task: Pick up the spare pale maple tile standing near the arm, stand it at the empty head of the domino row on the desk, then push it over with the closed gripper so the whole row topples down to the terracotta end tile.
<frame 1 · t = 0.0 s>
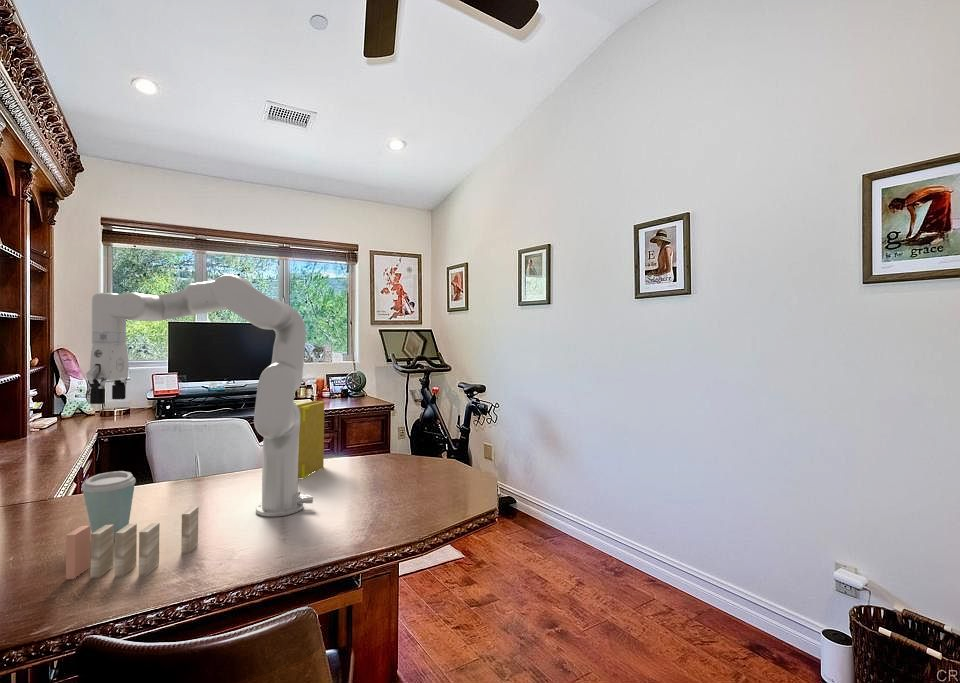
hand: (108, 401, 135), 31 cm above the table, tool pointing down, fingers open, 9 cm apart
book: (307, 472, 182), on the table
domino 2: (149, 569, 105), on the table
domino 1: (189, 548, 115), on the table
disposable coffee cup: (108, 538, 121), on the table
domino 4: (102, 572, 103), on the table
domino 5: (78, 573, 103), on the table
domino 3: (125, 570, 104), on the table
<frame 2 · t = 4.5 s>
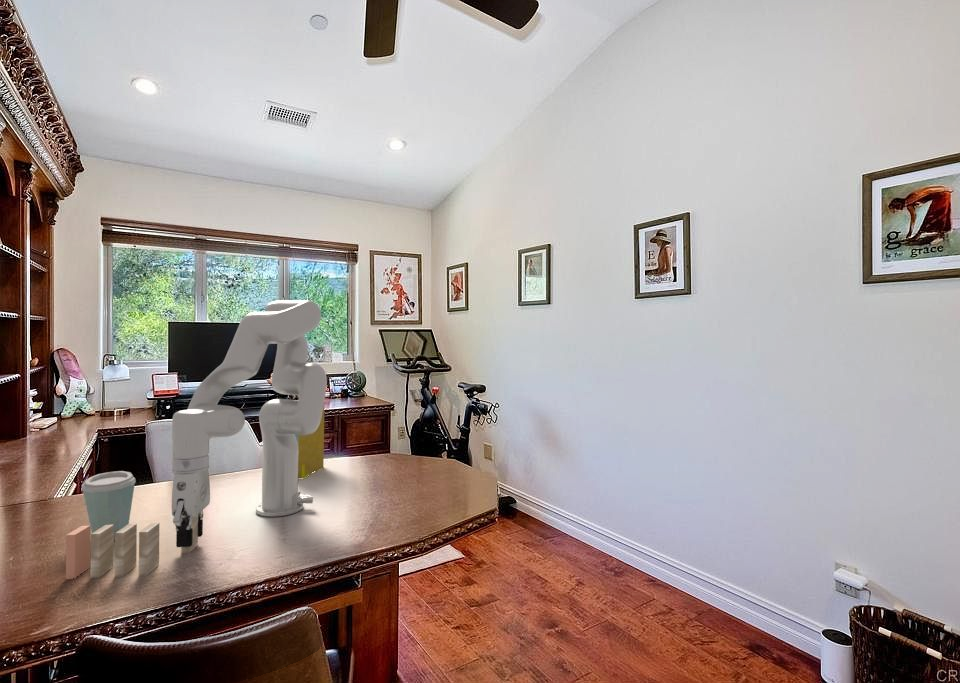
hand: (189, 540, 115), 2 cm above the table, tool pointing down, fingers closed on domino 1, 4 cm apart
domino 1: (189, 548, 115), on the table, touching gripper
everything else where it was.
when the fingers open (2 cm above the table, at t = 9.8 s): domino 1 stays where it is, on the table.
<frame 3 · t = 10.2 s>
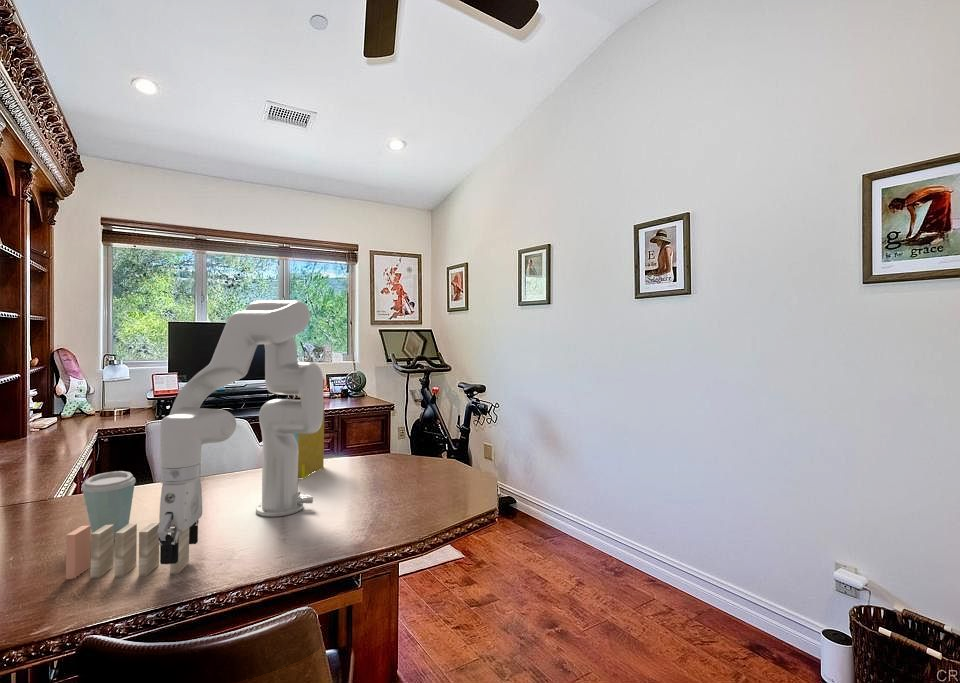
hand: (179, 553, 106), 3 cm above the table, tool pointing down, fingers open, 9 cm apart
domino 1: (179, 568, 106), on the table
everything else where it was.
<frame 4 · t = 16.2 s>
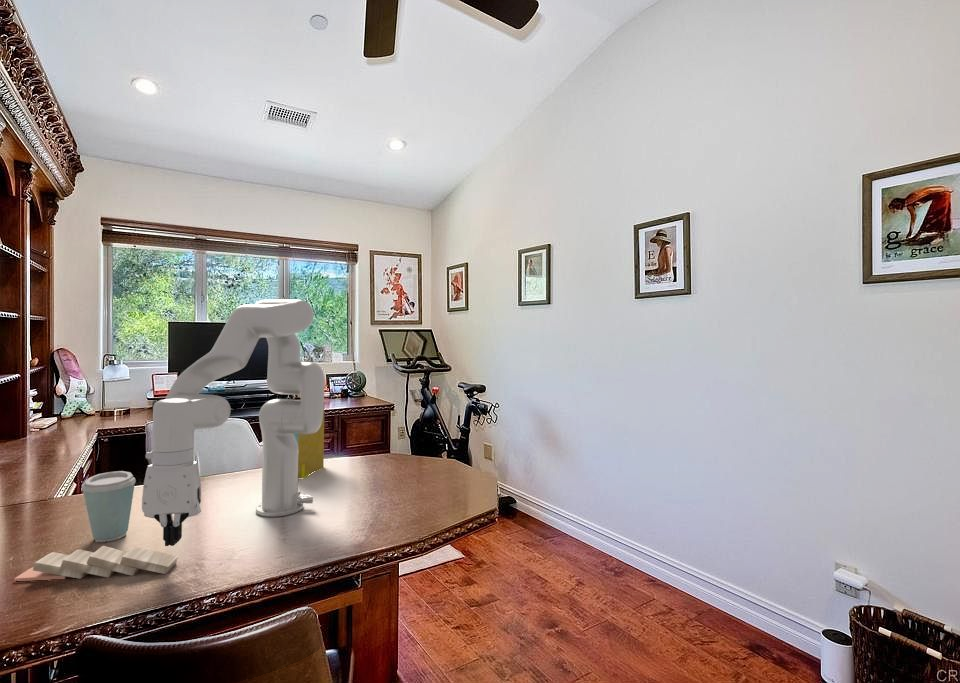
hand: (172, 543, 105), 5 cm above the table, tool pointing down, fingers closed
domino 2: (140, 566, 104), point 1 cm above the table, tilted 69°, touching domino 1, domino 3
domino 1: (172, 565, 105), point 1 cm above the table, tilted 73°, touching domino 2
domino 4: (89, 569, 103), point 1 cm above the table, tilted 76°, touching domino 3
domino 5: (72, 573, 103), on the table, tilted 90°
domino 3: (116, 568, 104), point 1 cm above the table, tilted 72°, touching domino 2, domino 4
everything else where it was.
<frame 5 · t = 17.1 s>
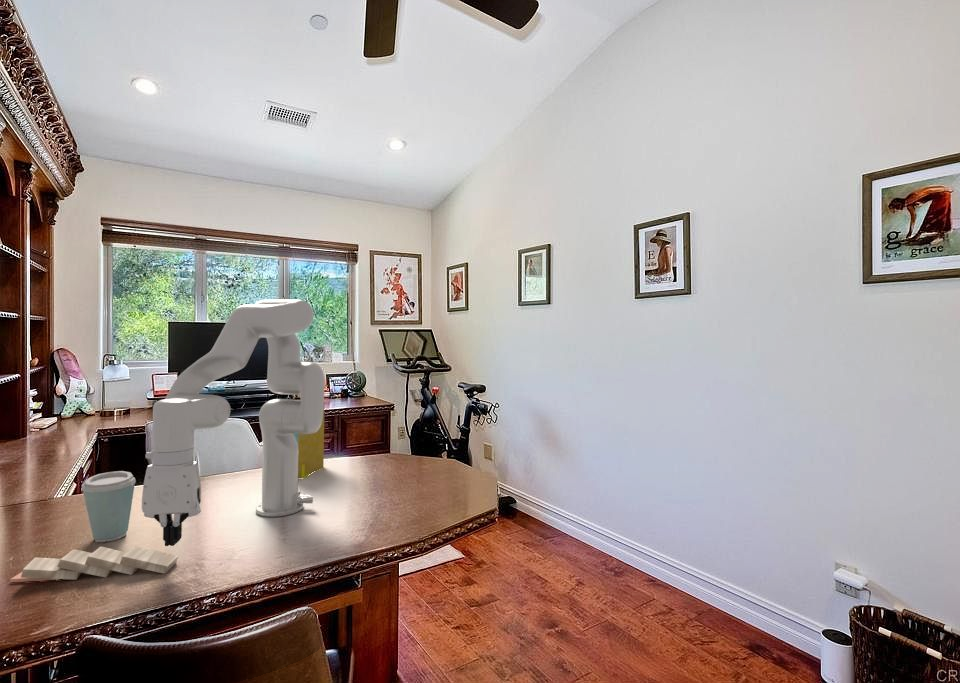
hand: (172, 543, 105), 5 cm above the table, tool pointing down, fingers closed
domino 2: (138, 565, 105), point 1 cm above the table, tilted 70°, touching domino 3
domino 1: (171, 564, 105), point 1 cm above the table, tilted 74°
domino 4: (82, 569, 102), point 1 cm above the table, tilted 78°, touching domino 3, domino 5
domino 5: (69, 573, 102), on the table, tilted 90°, touching domino 4
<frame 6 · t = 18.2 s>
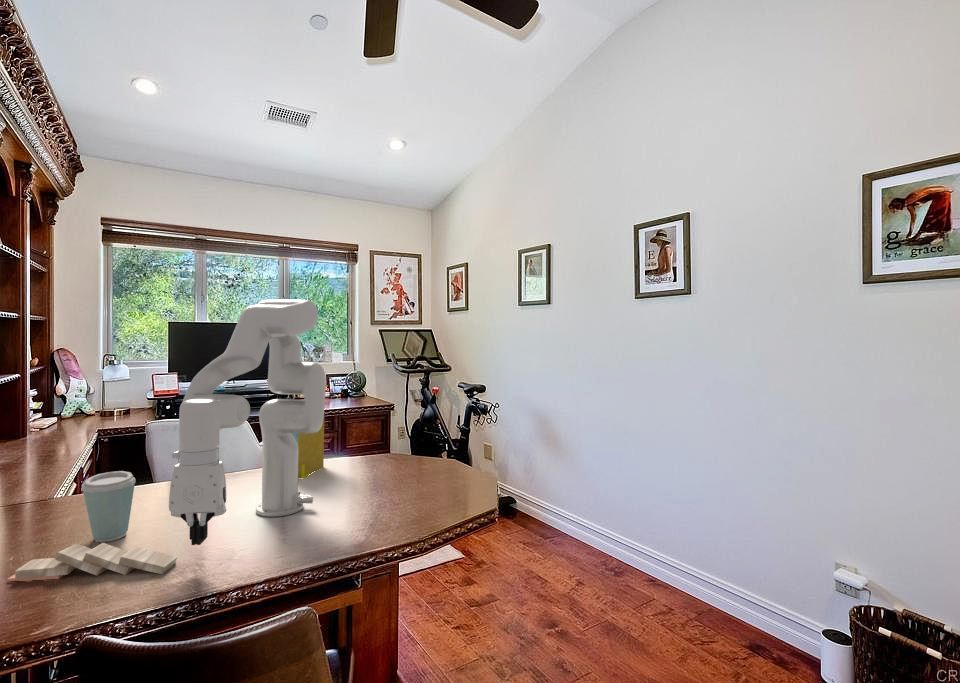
hand: (198, 542, 106), 5 cm above the table, tool pointing down, fingers closed
domino 2: (134, 565, 105), point 1 cm above the table, tilted 69°, touching domino 1
domino 1: (170, 565, 105), point 1 cm above the table, tilted 75°, touching domino 2
domino 4: (74, 564, 103), point 2 cm above the table, tilted 90°, touching domino 3
domino 5: (66, 573, 102), on the table, tilted 90°
domino 3: (107, 567, 104), point 1 cm above the table, tilted 68°, touching domino 4
everything else where it was.
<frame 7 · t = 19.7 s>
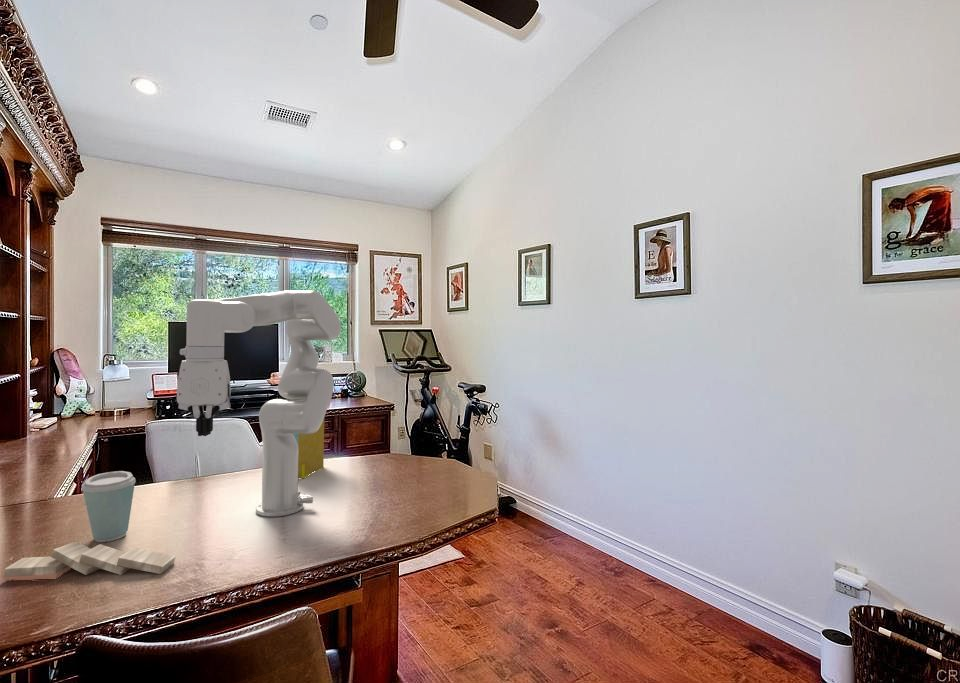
hand: (204, 434, 113), 27 cm above the table, tool pointing down, fingers closed
domino 2: (130, 565, 105), point 1 cm above the table, tilted 72°, touching domino 1, domino 3
domino 1: (168, 564, 105), point 1 cm above the table, tilted 77°, touching domino 2
domino 4: (63, 564, 103), point 2 cm above the table, tilted 90°, touching domino 3, domino 5
domino 5: (64, 573, 102), on the table, tilted 90°, touching domino 4
domino 3: (98, 566, 104), point 1 cm above the table, tilted 70°, touching domino 2, domino 4
everything else where it was.
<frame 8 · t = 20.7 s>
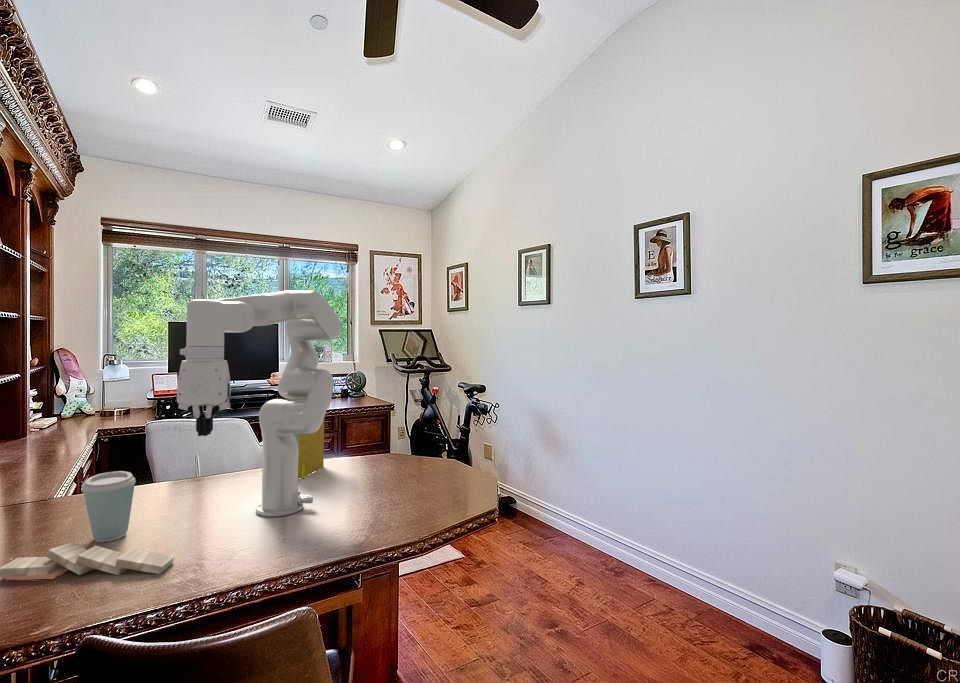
hand: (204, 434, 113), 27 cm above the table, tool pointing down, fingers closed
domino 1: (167, 564, 105), point 1 cm above the table, tilted 78°, touching domino 2
domino 4: (57, 565, 103), point 2 cm above the table, tilted 90°, touching domino 5
domino 3: (92, 566, 103), point 1 cm above the table, tilted 72°, touching domino 2
at the end: domino 5 tilted 90°; domino 1 tilted 78°; domino 1 inside the target area (1.5 cm from its centre), point 0.8 cm above the table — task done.
